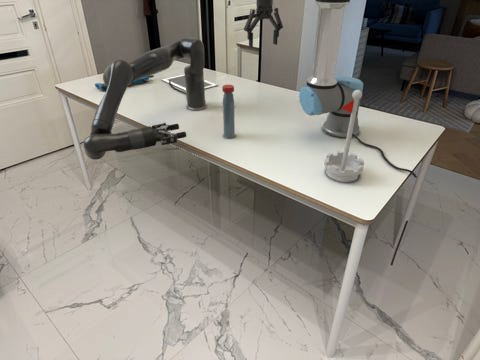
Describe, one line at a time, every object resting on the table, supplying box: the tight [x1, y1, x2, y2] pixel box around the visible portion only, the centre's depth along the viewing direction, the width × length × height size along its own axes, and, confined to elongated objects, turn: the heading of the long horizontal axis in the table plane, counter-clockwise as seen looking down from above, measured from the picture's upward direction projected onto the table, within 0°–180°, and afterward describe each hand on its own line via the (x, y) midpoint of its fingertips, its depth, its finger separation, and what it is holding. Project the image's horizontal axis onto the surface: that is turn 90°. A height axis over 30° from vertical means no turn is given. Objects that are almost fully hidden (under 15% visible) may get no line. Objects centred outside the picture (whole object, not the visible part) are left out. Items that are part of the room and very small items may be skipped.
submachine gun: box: [94, 74, 155, 91], centre depth 208 cm, size 34×4×25 cm
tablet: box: [161, 74, 219, 92], centre depth 208 cm, size 32×20×1 cm, turn 41°
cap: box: [221, 84, 235, 93], centre depth 134 cm, size 5×5×2 cm
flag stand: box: [323, 90, 365, 183], centre depth 111 cm, size 13×13×30 cm
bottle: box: [222, 92, 236, 139], centre depth 140 cm, size 5×5×21 cm
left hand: (182, 130), depth 134 cm, fingers open, 8 cm apart
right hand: (263, 45), depth 167 cm, fingers open, 13 cm apart
